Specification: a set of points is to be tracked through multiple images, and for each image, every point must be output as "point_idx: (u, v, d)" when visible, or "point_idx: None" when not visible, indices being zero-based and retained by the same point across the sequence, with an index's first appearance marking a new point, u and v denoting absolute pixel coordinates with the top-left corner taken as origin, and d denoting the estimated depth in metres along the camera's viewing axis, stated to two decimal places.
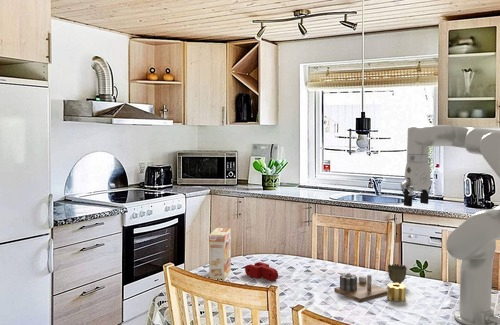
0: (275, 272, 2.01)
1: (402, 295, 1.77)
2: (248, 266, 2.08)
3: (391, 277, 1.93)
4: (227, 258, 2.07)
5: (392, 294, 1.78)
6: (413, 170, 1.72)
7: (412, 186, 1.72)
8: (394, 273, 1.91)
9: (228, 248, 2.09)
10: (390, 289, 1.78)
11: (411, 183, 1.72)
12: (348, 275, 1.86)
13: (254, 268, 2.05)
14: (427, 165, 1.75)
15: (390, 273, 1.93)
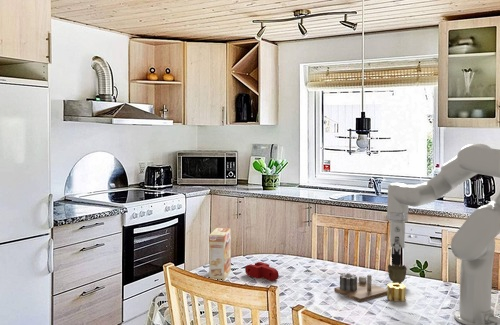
0: (276, 272, 2.01)
1: (402, 295, 1.77)
2: (248, 266, 2.08)
3: (391, 277, 1.93)
4: (227, 258, 2.07)
5: (392, 294, 1.78)
6: (402, 228, 1.73)
7: (402, 245, 1.73)
8: (394, 273, 1.91)
9: (228, 248, 2.09)
10: (390, 289, 1.78)
11: (401, 242, 1.73)
12: (348, 275, 1.86)
13: (254, 268, 2.05)
14: None
15: (390, 273, 1.93)
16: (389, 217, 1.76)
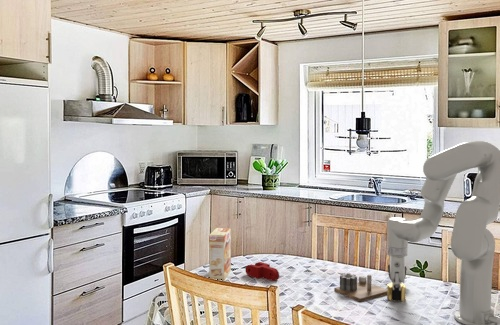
0: (276, 272, 2.01)
1: (402, 295, 1.77)
2: (249, 266, 2.08)
3: None
4: (227, 258, 2.07)
5: None
6: (402, 264, 1.74)
7: (402, 280, 1.74)
8: None
9: (228, 248, 2.09)
10: (390, 289, 1.78)
11: (401, 277, 1.74)
12: (348, 275, 1.86)
13: (255, 268, 2.05)
14: None
15: None
16: (389, 252, 1.77)
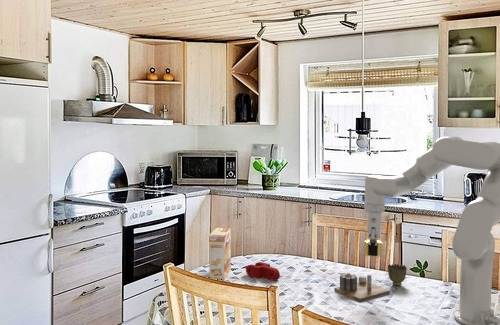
0: (277, 271, 2.01)
1: (378, 250, 1.80)
2: (249, 266, 2.08)
3: (391, 277, 1.93)
4: (227, 258, 2.07)
5: None
6: (378, 219, 1.77)
7: (378, 235, 1.77)
8: (394, 273, 1.91)
9: (228, 248, 2.09)
10: (367, 245, 1.81)
11: (377, 232, 1.77)
12: (348, 275, 1.86)
13: (255, 268, 2.05)
14: None
15: (390, 273, 1.93)
16: (366, 208, 1.80)
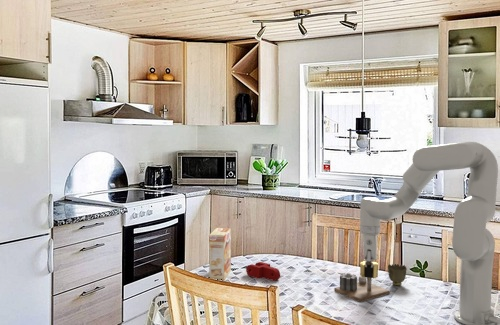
0: (278, 271, 2.01)
1: (374, 272, 1.82)
2: (249, 266, 2.08)
3: (391, 277, 1.93)
4: (227, 258, 2.07)
5: None
6: (374, 241, 1.79)
7: (374, 257, 1.79)
8: (394, 273, 1.91)
9: (228, 248, 2.09)
10: (363, 266, 1.83)
11: (373, 254, 1.79)
12: (348, 275, 1.86)
13: (256, 268, 2.05)
14: None
15: (390, 273, 1.93)
16: (362, 230, 1.82)
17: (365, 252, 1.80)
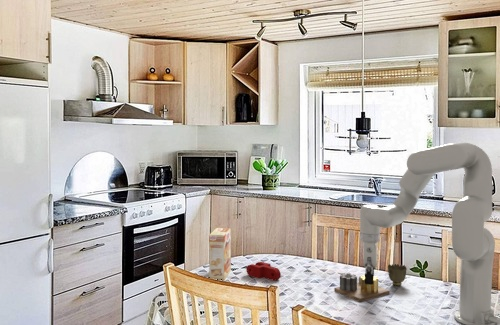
0: (278, 271, 2.01)
1: (374, 287, 1.82)
2: (250, 266, 2.08)
3: (391, 277, 1.93)
4: (227, 258, 2.07)
5: (365, 286, 1.83)
6: (374, 249, 1.79)
7: (374, 265, 1.79)
8: (394, 273, 1.91)
9: (228, 248, 2.09)
10: (363, 281, 1.83)
11: (373, 262, 1.79)
12: (348, 275, 1.86)
13: (256, 268, 2.05)
14: None
15: (390, 273, 1.93)
16: (362, 238, 1.82)
17: (365, 260, 1.80)
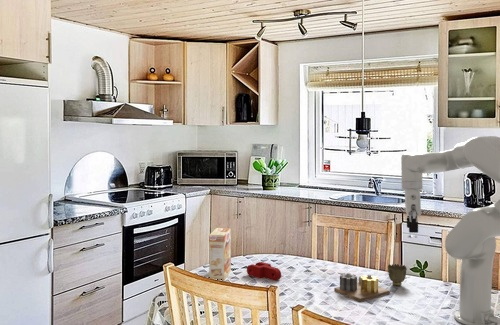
0: (279, 271, 2.02)
1: (374, 287, 1.82)
2: (250, 266, 2.08)
3: (391, 277, 1.93)
4: (227, 258, 2.07)
5: (365, 286, 1.83)
6: (418, 196, 1.75)
7: (418, 212, 1.75)
8: (394, 273, 1.91)
9: (228, 248, 2.09)
10: (363, 281, 1.83)
11: (417, 209, 1.75)
12: (348, 275, 1.86)
13: (257, 268, 2.05)
14: None
15: (390, 273, 1.93)
16: (404, 186, 1.79)
17: (409, 207, 1.76)
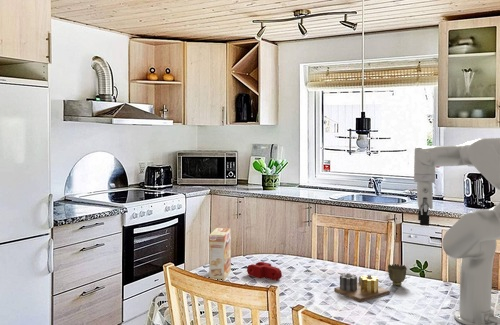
0: (279, 271, 2.02)
1: (374, 287, 1.82)
2: (250, 266, 2.08)
3: (391, 277, 1.93)
4: (227, 258, 2.07)
5: (365, 286, 1.83)
6: (430, 189, 1.75)
7: (430, 205, 1.75)
8: (394, 273, 1.91)
9: (228, 248, 2.09)
10: (363, 281, 1.83)
11: (429, 203, 1.75)
12: (348, 275, 1.86)
13: (257, 268, 2.05)
14: None
15: (390, 273, 1.93)
16: (416, 179, 1.78)
17: (421, 200, 1.76)
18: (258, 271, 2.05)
